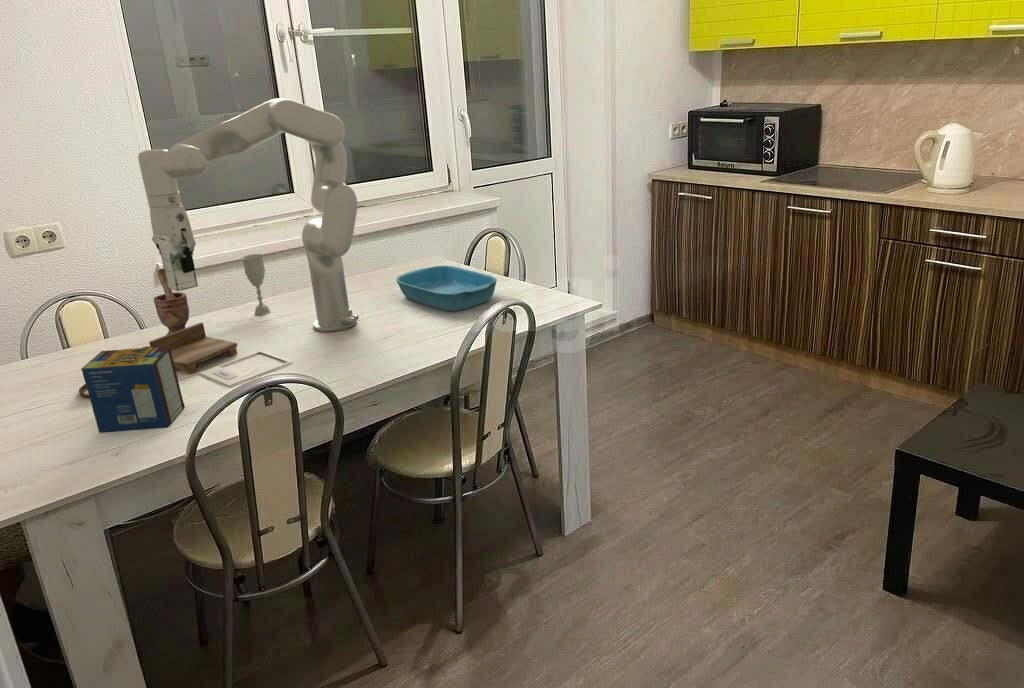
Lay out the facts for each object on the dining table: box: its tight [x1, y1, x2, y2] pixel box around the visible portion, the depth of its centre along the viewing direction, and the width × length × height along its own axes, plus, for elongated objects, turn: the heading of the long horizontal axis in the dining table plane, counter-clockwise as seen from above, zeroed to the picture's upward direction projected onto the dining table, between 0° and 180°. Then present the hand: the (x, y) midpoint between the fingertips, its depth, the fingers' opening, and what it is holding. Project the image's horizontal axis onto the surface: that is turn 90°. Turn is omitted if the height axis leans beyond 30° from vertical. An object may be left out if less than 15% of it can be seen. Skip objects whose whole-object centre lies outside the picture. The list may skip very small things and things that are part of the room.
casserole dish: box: [395, 265, 498, 312], centre depth 243 cm, size 37×22×7 cm, turn 41°
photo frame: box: [198, 350, 293, 388], centre depth 197 cm, size 15×1×18 cm
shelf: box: [148, 322, 238, 375], centre depth 204 cm, size 14×16×7 cm
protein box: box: [80, 346, 185, 434], centre depth 169 cm, size 10×15×16 cm
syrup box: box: [157, 234, 199, 292], centre depth 195 cm, size 6×6×14 cm
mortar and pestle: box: [153, 267, 190, 336], centre depth 219 cm, size 12×9×20 cm
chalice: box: [240, 253, 271, 316], centre depth 238 cm, size 7×7×18 cm
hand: (179, 269), depth 196 cm, fingers closed on syrup box, 6 cm apart
